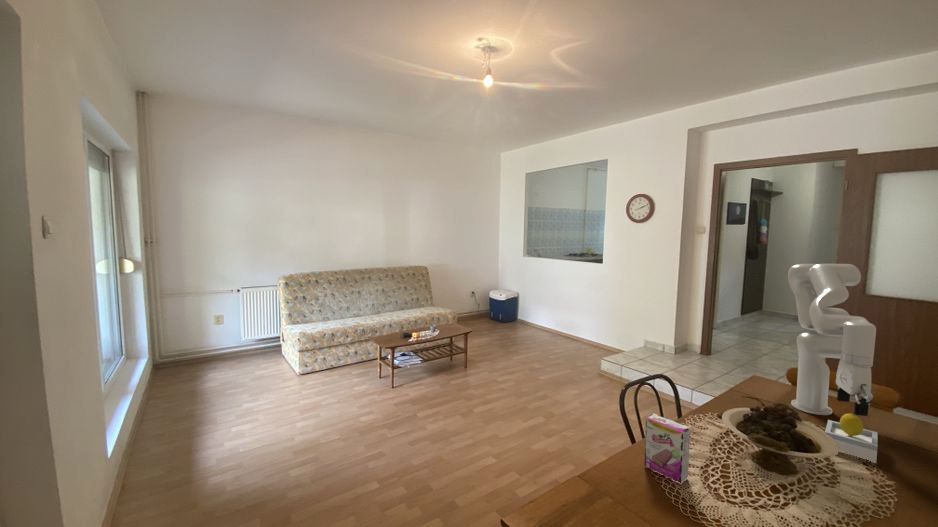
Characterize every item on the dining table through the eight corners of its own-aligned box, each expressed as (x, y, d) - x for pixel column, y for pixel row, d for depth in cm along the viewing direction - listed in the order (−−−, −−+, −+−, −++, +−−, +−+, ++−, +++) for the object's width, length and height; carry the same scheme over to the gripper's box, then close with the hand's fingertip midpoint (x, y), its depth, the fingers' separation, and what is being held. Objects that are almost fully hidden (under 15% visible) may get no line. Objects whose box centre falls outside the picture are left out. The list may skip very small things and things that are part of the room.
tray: (827, 434, 136) (828, 419, 135) (876, 448, 127) (877, 432, 127) (823, 447, 128) (825, 431, 127) (876, 463, 119) (877, 446, 119)
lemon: (855, 433, 129) (857, 410, 128) (866, 442, 124) (868, 418, 123) (835, 430, 131) (836, 408, 130) (844, 439, 126) (846, 416, 125)
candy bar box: (643, 468, 118) (644, 417, 117) (651, 462, 121) (653, 412, 120) (681, 487, 109) (683, 432, 108) (688, 480, 112) (690, 426, 111)
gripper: (827, 348, 134) (823, 394, 137) (857, 367, 118) (852, 419, 120) (855, 350, 132) (850, 397, 134) (889, 370, 116) (883, 422, 118)
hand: (851, 407), depth 127 cm, fingers open, 9 cm apart
